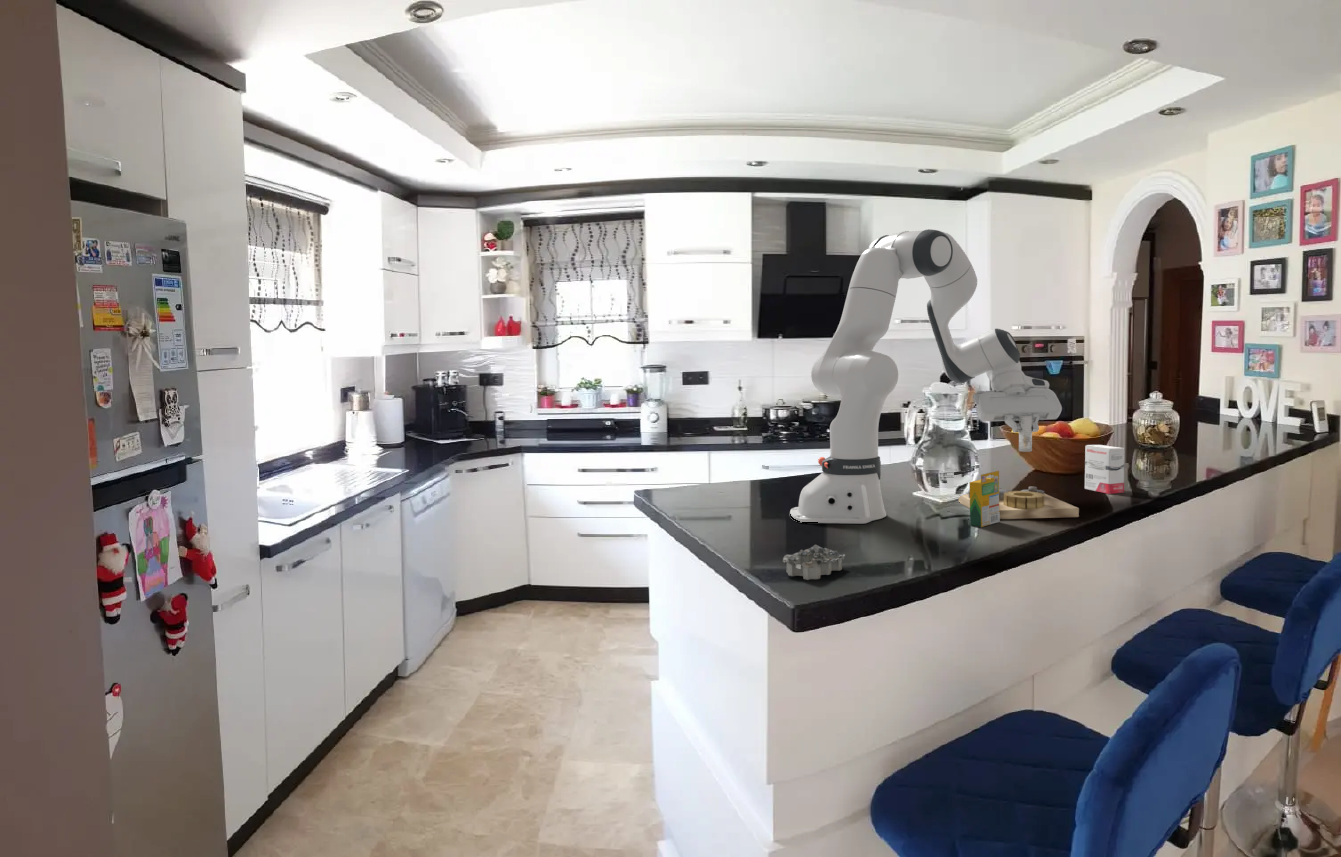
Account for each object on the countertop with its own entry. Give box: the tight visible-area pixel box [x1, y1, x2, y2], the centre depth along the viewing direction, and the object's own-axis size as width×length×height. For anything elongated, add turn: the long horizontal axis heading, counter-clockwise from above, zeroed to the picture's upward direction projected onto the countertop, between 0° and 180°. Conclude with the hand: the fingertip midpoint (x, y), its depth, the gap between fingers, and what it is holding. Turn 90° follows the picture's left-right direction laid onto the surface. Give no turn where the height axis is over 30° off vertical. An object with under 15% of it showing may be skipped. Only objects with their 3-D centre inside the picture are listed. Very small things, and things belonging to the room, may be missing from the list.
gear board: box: [958, 485, 1080, 520], centre depth 178 cm, size 20×20×4 cm
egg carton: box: [782, 544, 847, 581], centre depth 135 cm, size 11×8×4 cm
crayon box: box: [968, 470, 1001, 528], centre depth 165 cm, size 7×3×12 cm, turn 126°
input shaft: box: [1018, 415, 1033, 453], centre depth 190 cm, size 3×3×9 cm
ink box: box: [1084, 444, 1125, 495], centre depth 195 cm, size 8×5×12 cm, turn 13°
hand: (1026, 430), depth 190 cm, fingers closed on input shaft, 3 cm apart
